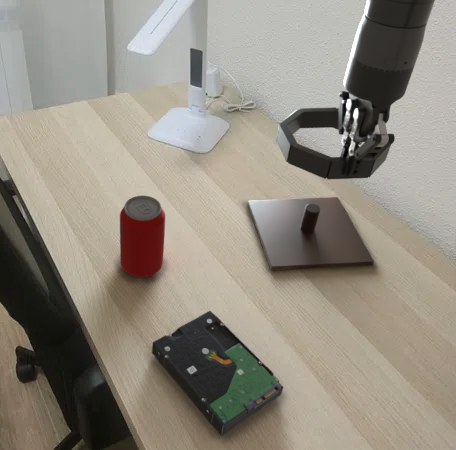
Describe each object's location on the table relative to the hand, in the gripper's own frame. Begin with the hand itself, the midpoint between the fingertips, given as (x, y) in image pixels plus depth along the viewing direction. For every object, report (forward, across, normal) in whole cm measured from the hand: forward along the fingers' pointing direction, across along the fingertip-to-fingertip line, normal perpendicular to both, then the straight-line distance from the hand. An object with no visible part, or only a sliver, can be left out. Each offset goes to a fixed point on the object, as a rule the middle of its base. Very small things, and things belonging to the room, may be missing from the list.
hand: (347, 172), depth 78 cm
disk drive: (+18, -20, +21) cm, 34 cm away
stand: (+18, +7, 0) cm, 19 cm away
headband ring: (+1, +7, 0) cm, 7 cm away
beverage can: (+18, +1, +29) cm, 34 cm away
